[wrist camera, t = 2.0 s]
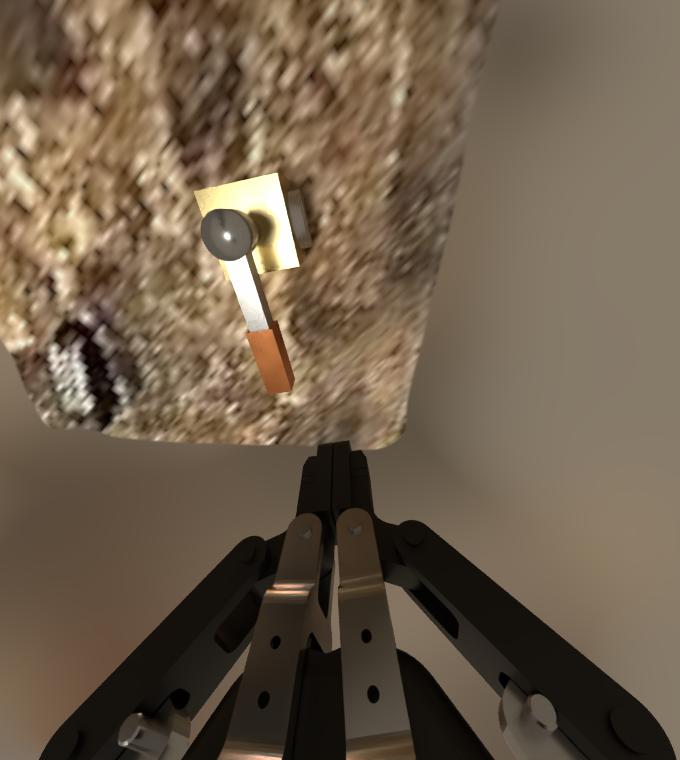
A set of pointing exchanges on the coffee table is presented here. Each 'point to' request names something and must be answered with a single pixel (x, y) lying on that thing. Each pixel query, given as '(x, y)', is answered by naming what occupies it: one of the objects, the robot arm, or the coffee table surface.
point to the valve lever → (249, 292)
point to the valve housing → (266, 218)
